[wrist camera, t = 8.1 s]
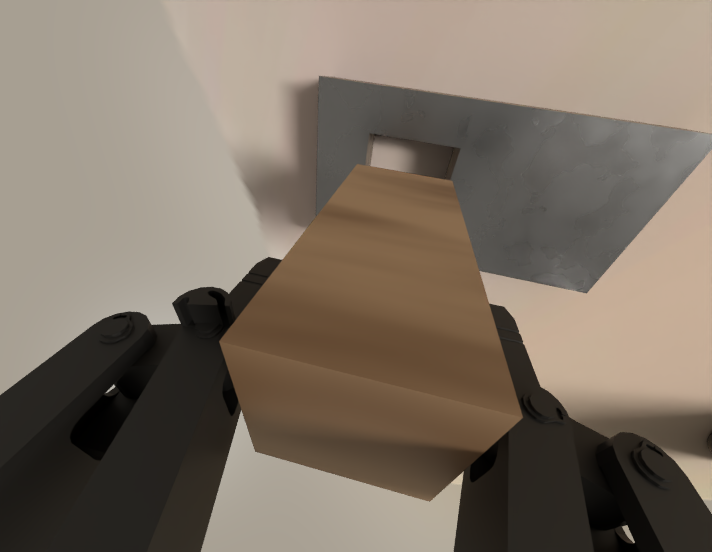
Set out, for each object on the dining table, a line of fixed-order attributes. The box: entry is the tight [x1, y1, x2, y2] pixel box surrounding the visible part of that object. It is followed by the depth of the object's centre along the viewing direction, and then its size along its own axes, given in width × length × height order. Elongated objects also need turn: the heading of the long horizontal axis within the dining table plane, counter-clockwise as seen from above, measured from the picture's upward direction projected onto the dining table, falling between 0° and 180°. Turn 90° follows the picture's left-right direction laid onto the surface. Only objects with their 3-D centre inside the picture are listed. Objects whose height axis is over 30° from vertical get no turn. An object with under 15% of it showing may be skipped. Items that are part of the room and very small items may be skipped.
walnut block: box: [219, 164, 523, 501], centre depth 10 cm, size 5×5×12 cm
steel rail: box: [316, 76, 712, 293], centre depth 21 cm, size 12×24×3 cm, turn 84°
